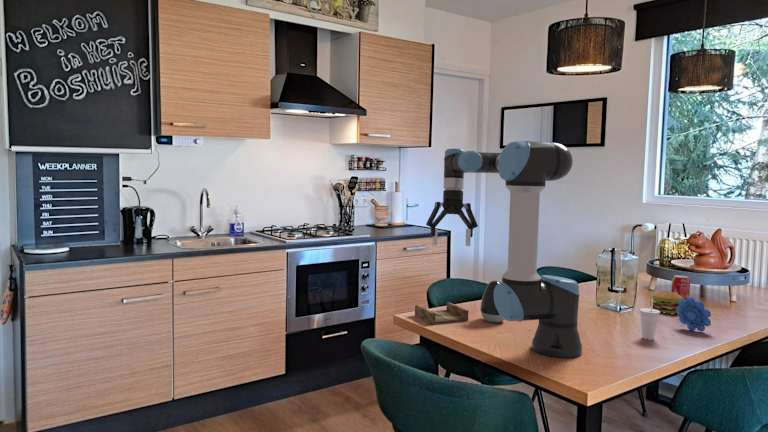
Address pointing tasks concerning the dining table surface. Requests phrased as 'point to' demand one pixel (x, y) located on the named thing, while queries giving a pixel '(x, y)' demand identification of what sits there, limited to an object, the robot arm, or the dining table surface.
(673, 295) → the food
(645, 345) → the dining table surface
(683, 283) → the soda can
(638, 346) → the dining table surface
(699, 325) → the blue gear
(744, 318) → the dining table surface
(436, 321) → the track
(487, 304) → the pump dispenser
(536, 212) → the robot arm
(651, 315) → the smoothie
